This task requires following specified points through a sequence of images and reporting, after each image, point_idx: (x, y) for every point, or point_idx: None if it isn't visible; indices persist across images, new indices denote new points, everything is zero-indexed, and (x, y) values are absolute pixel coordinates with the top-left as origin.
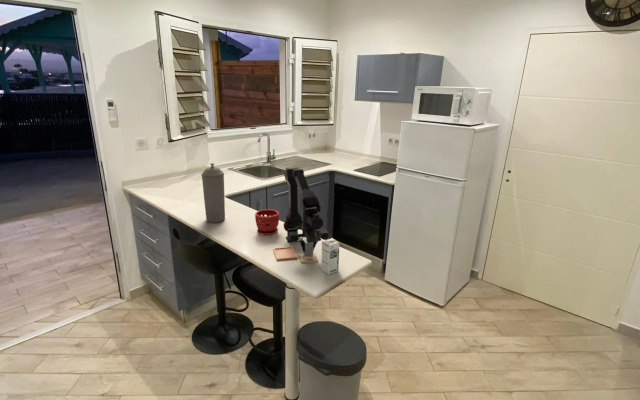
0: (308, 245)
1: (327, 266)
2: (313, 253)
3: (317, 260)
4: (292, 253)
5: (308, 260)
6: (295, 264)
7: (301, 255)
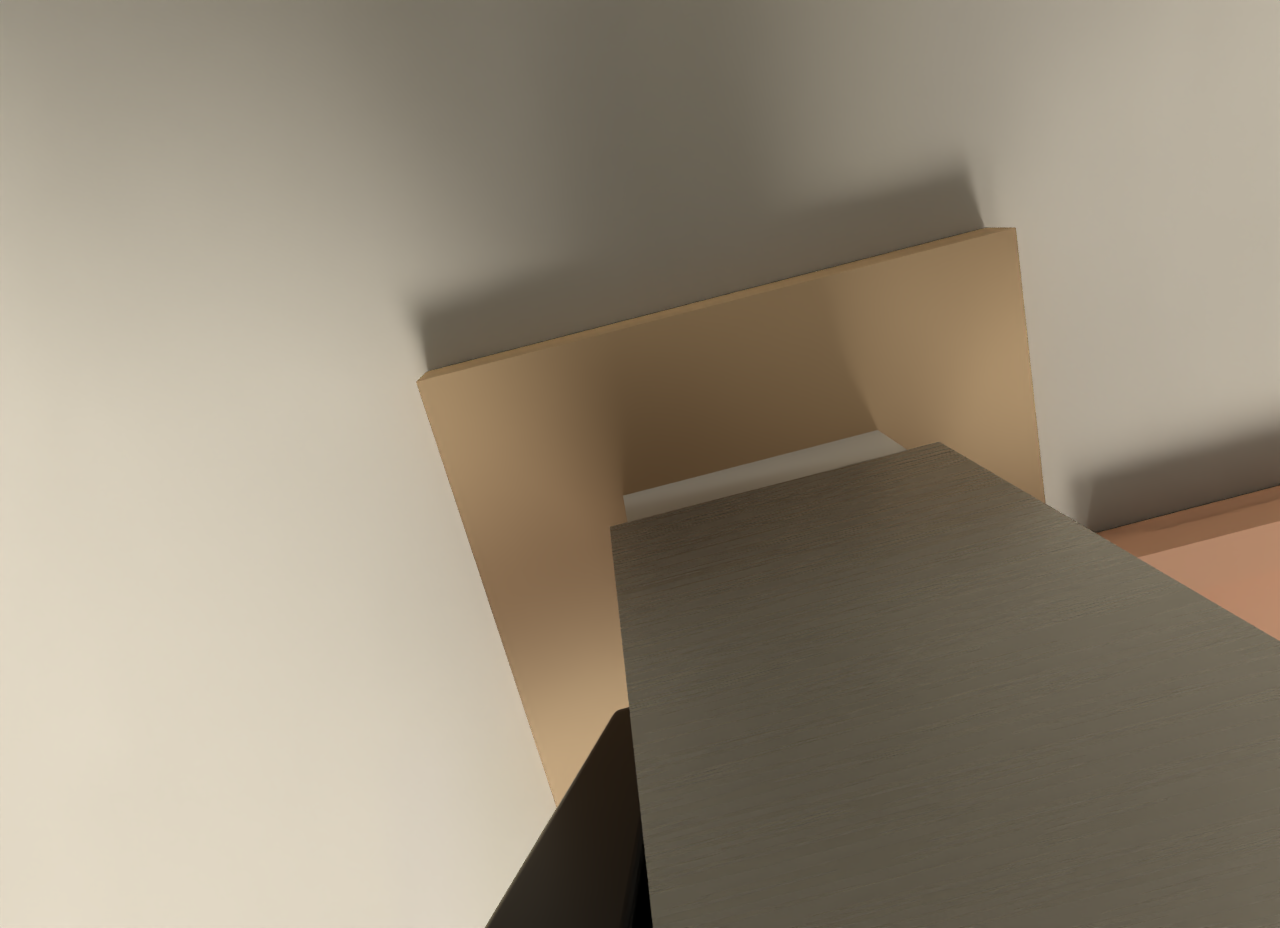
0: (1090, 781)
1: None
2: None
3: (440, 376)
4: None
5: (767, 337)
6: (1193, 145)
7: None
